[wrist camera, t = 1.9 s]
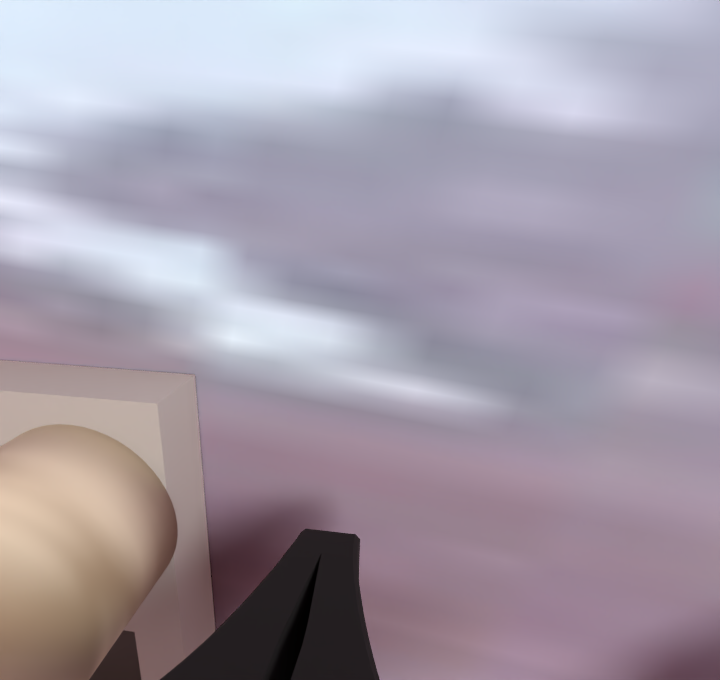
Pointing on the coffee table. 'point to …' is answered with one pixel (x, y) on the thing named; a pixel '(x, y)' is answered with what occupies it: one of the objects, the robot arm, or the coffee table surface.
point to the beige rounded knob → (75, 548)
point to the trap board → (168, 461)
